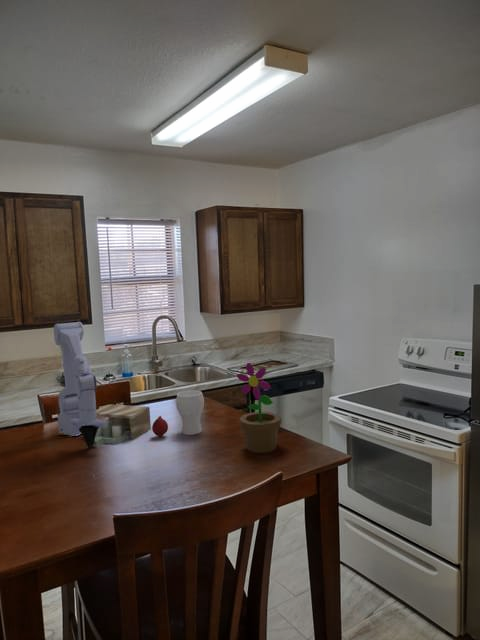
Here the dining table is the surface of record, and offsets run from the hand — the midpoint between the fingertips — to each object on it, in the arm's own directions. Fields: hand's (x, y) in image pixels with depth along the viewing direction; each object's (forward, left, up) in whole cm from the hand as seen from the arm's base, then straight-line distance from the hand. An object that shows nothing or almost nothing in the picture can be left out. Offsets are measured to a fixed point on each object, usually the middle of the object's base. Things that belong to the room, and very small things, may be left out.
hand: (90, 445), depth 162 cm
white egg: (+4, +10, 0) cm, 11 cm away
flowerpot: (+59, +15, -1) cm, 61 cm away
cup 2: (+28, +24, -1) cm, 37 cm away
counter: (+1, +17, -1) cm, 17 cm away
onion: (+19, +16, -1) cm, 25 cm away
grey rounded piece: (-4, +10, 0) cm, 11 cm away
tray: (0, +8, -1) cm, 8 cm away
